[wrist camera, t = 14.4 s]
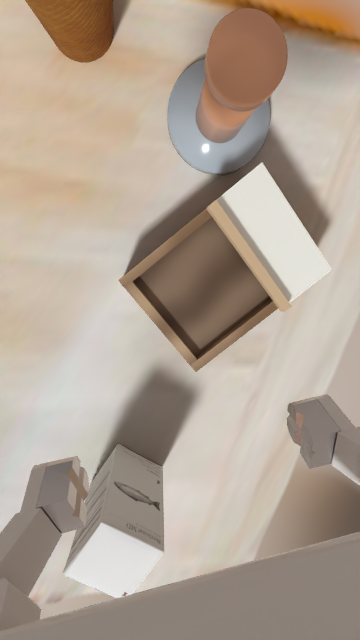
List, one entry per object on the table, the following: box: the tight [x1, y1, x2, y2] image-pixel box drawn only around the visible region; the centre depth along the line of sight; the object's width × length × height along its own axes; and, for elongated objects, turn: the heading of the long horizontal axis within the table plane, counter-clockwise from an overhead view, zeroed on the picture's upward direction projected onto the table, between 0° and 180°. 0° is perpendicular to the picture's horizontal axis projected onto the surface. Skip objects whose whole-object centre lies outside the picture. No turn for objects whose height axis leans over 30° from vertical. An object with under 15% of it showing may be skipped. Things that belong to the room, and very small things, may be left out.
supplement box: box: [63, 444, 164, 598], centre depth 35 cm, size 7×7×13 cm
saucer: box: [167, 59, 270, 175], centre depth 33 cm, size 11×11×1 cm
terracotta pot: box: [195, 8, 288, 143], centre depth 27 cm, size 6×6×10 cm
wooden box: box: [118, 209, 278, 372], centre depth 34 cm, size 13×18×5 cm
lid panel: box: [206, 163, 332, 312], centre depth 31 cm, size 13×7×2 cm, turn 38°
